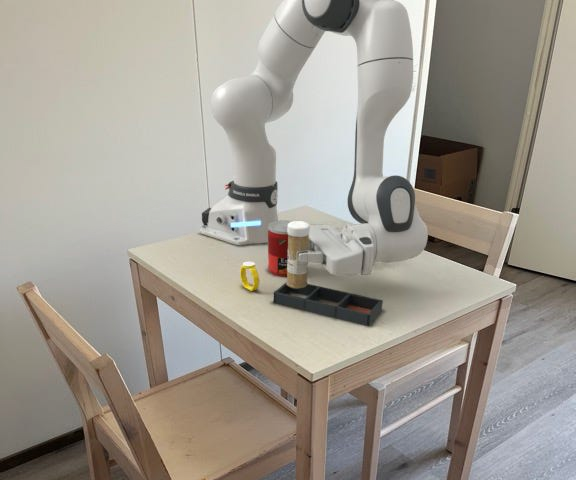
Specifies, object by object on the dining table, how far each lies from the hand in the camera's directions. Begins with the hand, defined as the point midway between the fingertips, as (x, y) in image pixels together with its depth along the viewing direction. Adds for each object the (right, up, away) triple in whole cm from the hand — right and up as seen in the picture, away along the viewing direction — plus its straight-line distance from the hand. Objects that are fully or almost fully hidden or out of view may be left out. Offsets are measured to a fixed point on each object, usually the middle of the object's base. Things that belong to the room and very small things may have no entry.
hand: (293, 252), depth 124 cm
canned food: (-2, 0, +20) cm, 20 cm away
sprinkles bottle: (+1, -6, +5) cm, 8 cm away
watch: (-10, -6, +11) cm, 16 cm away
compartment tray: (+7, -11, +4) cm, 13 cm away
